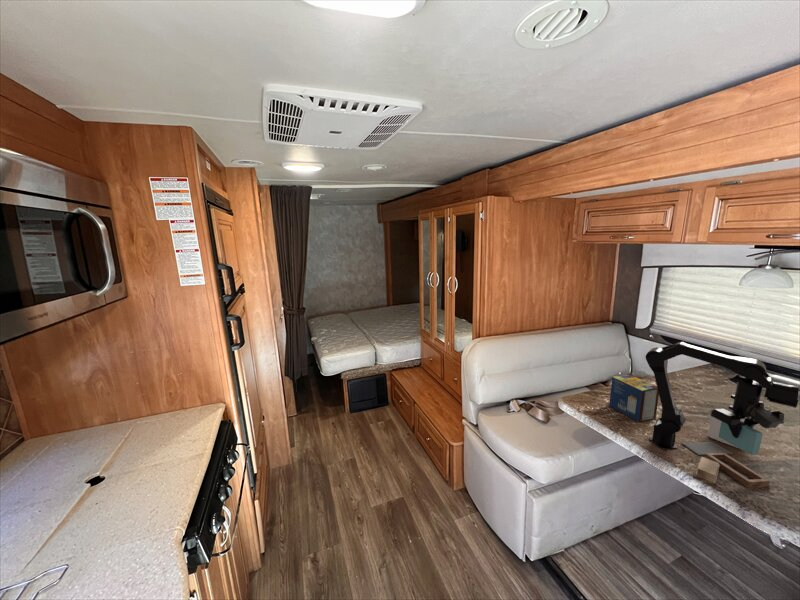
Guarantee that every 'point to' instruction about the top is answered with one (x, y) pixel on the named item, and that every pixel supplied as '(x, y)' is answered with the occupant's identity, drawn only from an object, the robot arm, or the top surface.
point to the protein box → (634, 397)
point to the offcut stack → (708, 469)
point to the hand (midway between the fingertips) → (738, 437)
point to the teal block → (742, 438)
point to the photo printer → (716, 430)
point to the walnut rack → (757, 479)
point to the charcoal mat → (705, 448)
